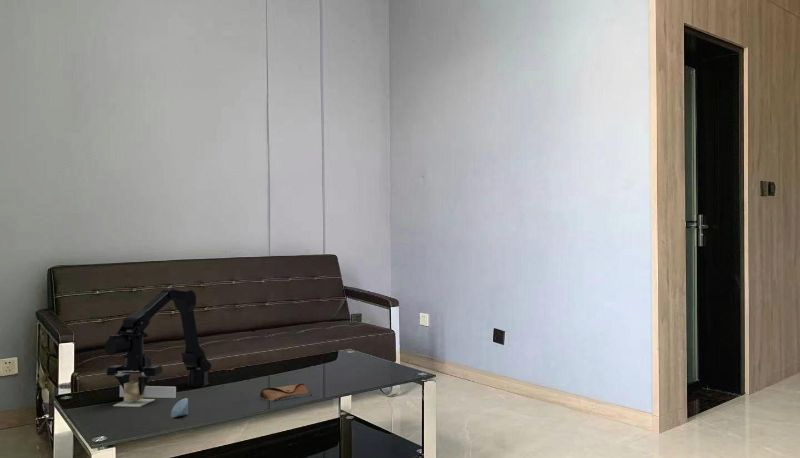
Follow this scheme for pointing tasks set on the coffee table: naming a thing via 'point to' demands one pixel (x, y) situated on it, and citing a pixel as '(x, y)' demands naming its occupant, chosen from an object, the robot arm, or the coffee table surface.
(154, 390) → the frosted wall
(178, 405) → the gemstone
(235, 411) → the coffee table surface
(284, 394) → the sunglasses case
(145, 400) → the pad
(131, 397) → the maple block
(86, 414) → the coffee table surface
